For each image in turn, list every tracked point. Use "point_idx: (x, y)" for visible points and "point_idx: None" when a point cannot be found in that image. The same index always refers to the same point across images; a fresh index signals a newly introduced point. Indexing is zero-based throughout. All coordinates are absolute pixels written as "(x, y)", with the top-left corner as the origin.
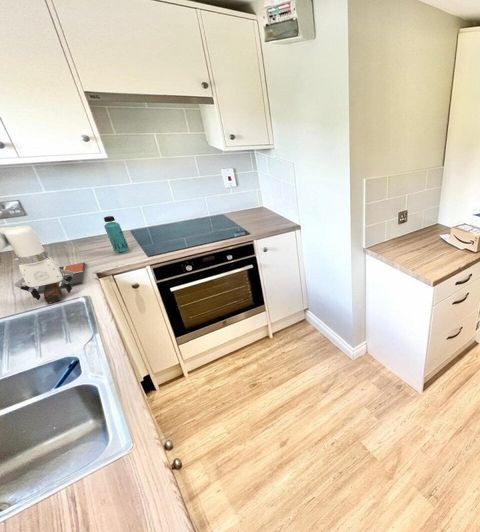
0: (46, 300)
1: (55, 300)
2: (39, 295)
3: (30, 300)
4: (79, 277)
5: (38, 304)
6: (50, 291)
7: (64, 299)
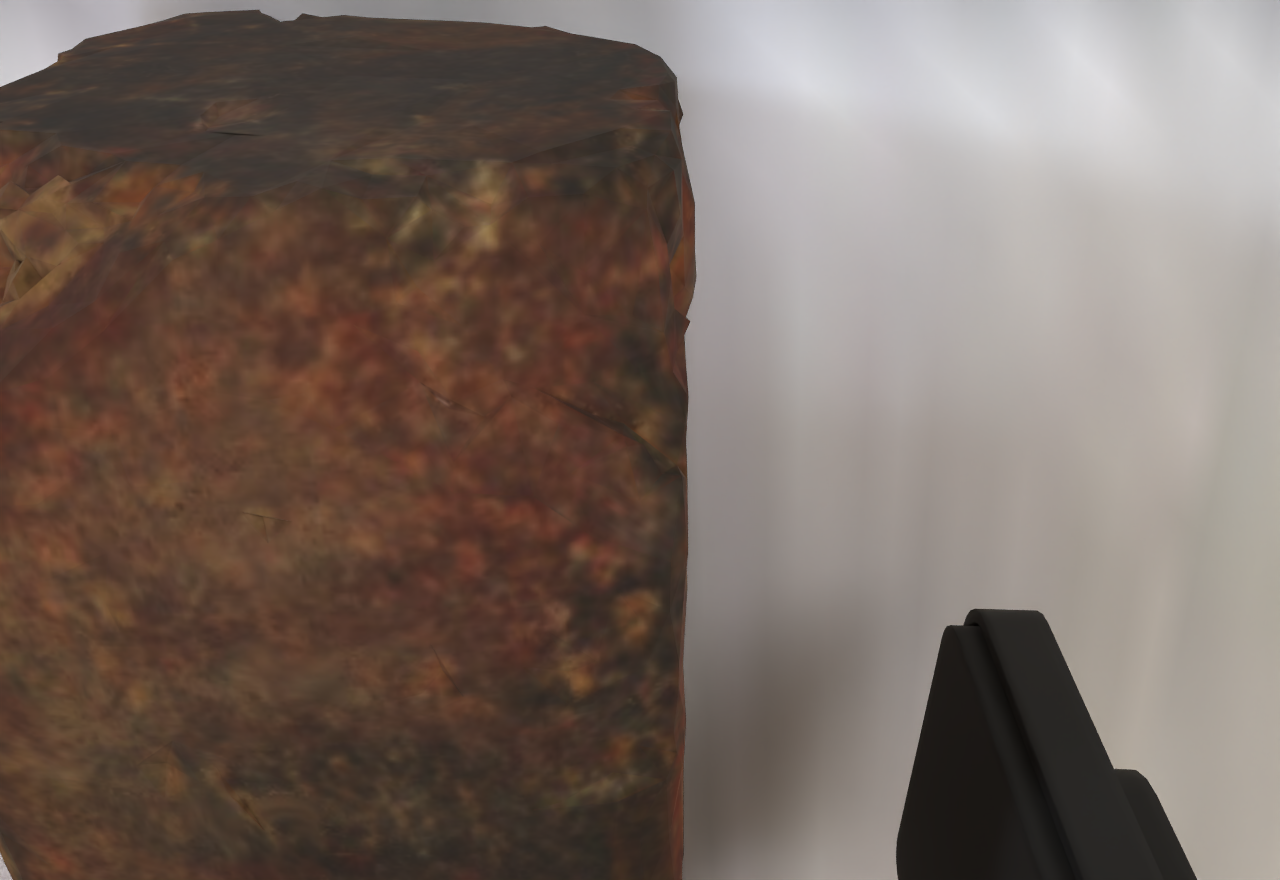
0: (639, 79)
1: (277, 43)
2: (922, 876)
3: None
4: None
5: (1018, 377)
6: (248, 669)
7: None
